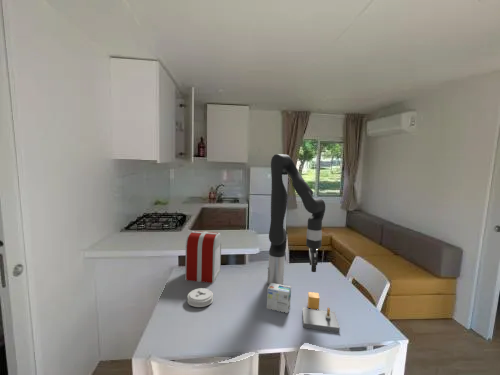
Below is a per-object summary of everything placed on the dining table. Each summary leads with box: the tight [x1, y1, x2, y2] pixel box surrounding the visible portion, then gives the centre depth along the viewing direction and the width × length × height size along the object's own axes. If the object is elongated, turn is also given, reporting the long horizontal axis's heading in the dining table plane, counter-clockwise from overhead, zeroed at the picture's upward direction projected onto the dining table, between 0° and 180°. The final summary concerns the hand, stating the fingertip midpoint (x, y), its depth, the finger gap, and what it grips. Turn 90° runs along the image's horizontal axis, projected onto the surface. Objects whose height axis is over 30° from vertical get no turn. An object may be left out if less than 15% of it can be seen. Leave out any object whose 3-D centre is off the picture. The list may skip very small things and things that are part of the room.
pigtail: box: [326, 307, 331, 320], centre depth 117 cm, size 2×2×4 cm
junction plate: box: [301, 307, 341, 333], centre depth 118 cm, size 15×12×2 cm
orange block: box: [307, 291, 321, 310], centre depth 130 cm, size 5×5×6 cm
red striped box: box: [184, 230, 222, 284], centre depth 158 cm, size 16×18×27 cm
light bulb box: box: [266, 283, 292, 314], centre depth 127 cm, size 11×7×11 cm, turn 71°
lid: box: [187, 287, 214, 308], centre depth 131 cm, size 13×13×5 cm
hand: (312, 268), depth 134 cm, fingers open, 8 cm apart
